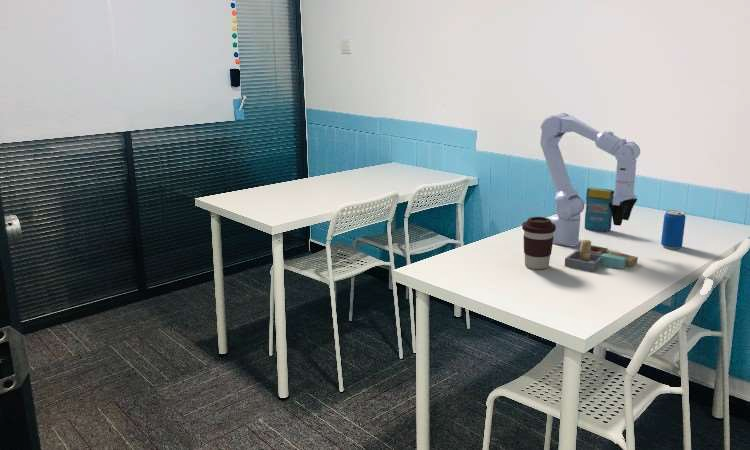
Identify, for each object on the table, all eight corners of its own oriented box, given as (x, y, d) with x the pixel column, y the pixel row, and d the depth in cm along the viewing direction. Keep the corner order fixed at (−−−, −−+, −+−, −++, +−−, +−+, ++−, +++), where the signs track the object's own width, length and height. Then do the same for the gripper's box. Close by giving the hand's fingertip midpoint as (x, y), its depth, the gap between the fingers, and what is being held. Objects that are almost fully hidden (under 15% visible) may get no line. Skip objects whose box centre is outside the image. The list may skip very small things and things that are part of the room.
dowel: (577, 263, 202) (579, 241, 200) (581, 260, 205) (583, 239, 203) (587, 265, 201) (589, 243, 199) (590, 262, 203) (592, 240, 201)
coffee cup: (554, 262, 205) (557, 216, 201) (551, 272, 196) (554, 225, 192) (522, 259, 208) (524, 214, 204) (518, 269, 199) (520, 222, 195)
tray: (564, 265, 202) (565, 258, 201) (575, 257, 209) (575, 250, 208) (593, 271, 197) (594, 263, 196) (603, 263, 204) (604, 255, 203)
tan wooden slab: (605, 262, 205) (605, 255, 205) (612, 258, 209) (613, 251, 208) (629, 268, 200) (630, 260, 199) (636, 264, 203) (637, 257, 203)
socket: (577, 257, 209) (578, 250, 209) (585, 251, 215) (586, 244, 214) (599, 261, 205) (600, 254, 205) (607, 255, 211) (607, 248, 210)
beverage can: (683, 250, 215) (688, 215, 211) (663, 249, 216) (667, 214, 213) (679, 244, 221) (683, 210, 217) (658, 243, 222) (662, 209, 219)
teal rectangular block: (599, 264, 202) (600, 255, 202) (602, 262, 205) (603, 253, 204) (622, 269, 198) (623, 259, 198) (625, 266, 201) (626, 257, 200)
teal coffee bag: (612, 230, 238) (615, 190, 234) (609, 233, 234) (613, 192, 230) (585, 226, 243) (588, 187, 239) (582, 229, 239) (585, 189, 235)
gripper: (630, 186, 198) (626, 229, 202) (644, 178, 209) (640, 219, 213) (607, 184, 203) (603, 226, 206) (622, 176, 214) (618, 215, 217)
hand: (621, 222), depth 210 cm, fingers open, 7 cm apart
